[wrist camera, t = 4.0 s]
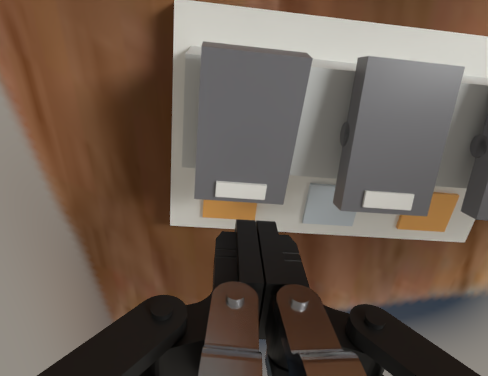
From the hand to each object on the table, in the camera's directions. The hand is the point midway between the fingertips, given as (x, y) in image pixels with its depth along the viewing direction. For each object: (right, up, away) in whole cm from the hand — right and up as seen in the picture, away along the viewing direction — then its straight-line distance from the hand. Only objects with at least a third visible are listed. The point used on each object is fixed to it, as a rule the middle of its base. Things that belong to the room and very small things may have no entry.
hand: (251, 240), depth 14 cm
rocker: (0, +5, +3) cm, 6 cm away
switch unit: (+6, +6, +11) cm, 14 cm away
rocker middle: (+7, +4, +4) cm, 9 cm away
